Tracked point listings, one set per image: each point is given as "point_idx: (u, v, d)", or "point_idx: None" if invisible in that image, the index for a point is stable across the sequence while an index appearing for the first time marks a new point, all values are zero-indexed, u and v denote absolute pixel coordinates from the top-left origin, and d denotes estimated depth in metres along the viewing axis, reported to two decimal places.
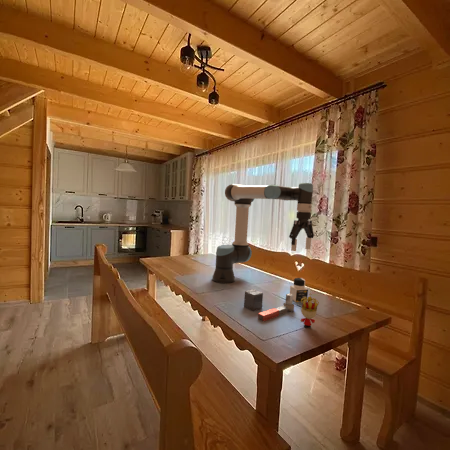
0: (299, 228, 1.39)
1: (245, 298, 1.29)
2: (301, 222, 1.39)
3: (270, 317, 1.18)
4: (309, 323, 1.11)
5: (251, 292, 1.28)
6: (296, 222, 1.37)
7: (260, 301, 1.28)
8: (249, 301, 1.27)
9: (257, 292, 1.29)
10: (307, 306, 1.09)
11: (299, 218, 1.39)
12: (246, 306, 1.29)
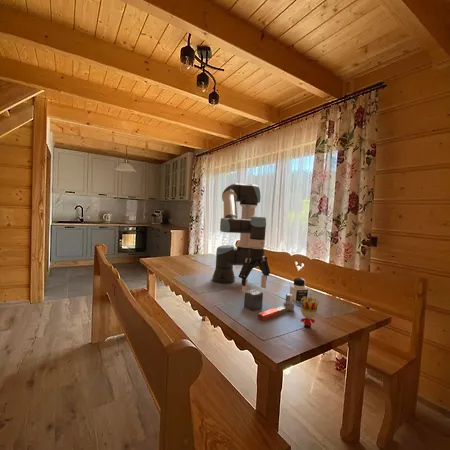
0: (250, 267, 1.25)
1: (245, 298, 1.29)
2: (253, 260, 1.25)
3: (270, 317, 1.18)
4: (309, 323, 1.11)
5: (251, 292, 1.28)
6: (246, 260, 1.23)
7: (260, 301, 1.28)
8: (249, 301, 1.27)
9: (257, 292, 1.29)
10: (307, 306, 1.09)
11: (251, 255, 1.25)
12: (246, 306, 1.29)
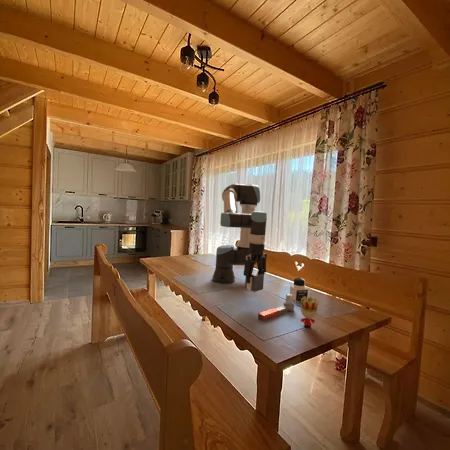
0: (252, 263, 1.26)
1: None
2: (253, 255, 1.25)
3: (270, 317, 1.18)
4: (309, 323, 1.11)
5: (252, 273, 1.28)
6: (247, 258, 1.23)
7: (261, 282, 1.28)
8: None
9: (258, 273, 1.28)
10: (307, 306, 1.09)
11: (250, 251, 1.25)
12: None
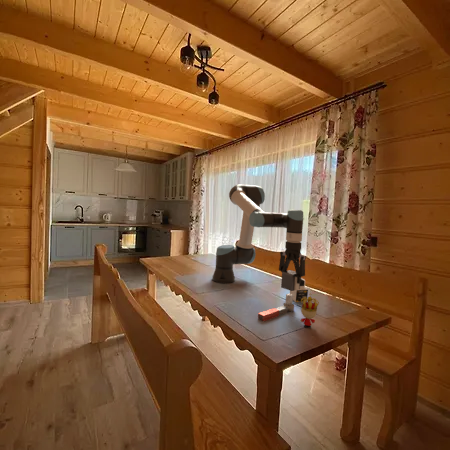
0: None
1: None
2: (286, 252, 1.28)
3: (270, 317, 1.18)
4: (309, 323, 1.11)
5: (289, 271, 1.29)
6: None
7: (290, 282, 1.24)
8: None
9: (291, 273, 1.26)
10: (307, 306, 1.09)
11: None
12: None
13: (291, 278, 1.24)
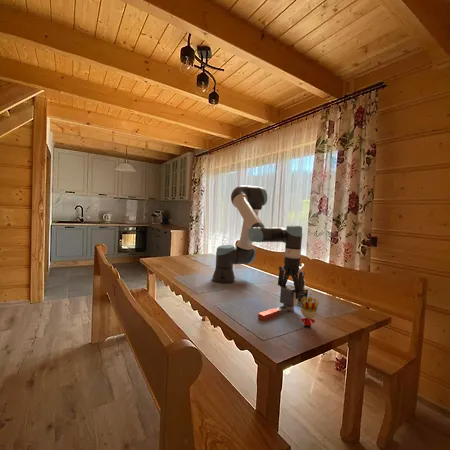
0: None
1: None
2: (285, 267, 1.29)
3: (270, 317, 1.18)
4: (309, 323, 1.11)
5: (287, 286, 1.29)
6: None
7: (288, 297, 1.25)
8: None
9: (290, 288, 1.26)
10: (307, 306, 1.09)
11: None
12: None
13: (290, 294, 1.24)
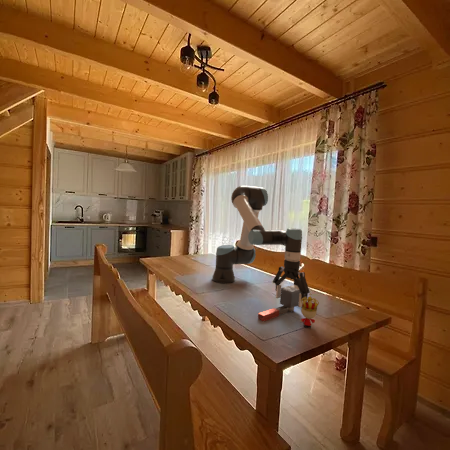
0: None
1: None
2: (284, 270, 1.29)
3: (270, 317, 1.18)
4: (309, 323, 1.11)
5: (288, 287, 1.29)
6: None
7: (289, 299, 1.25)
8: None
9: (290, 290, 1.26)
10: (307, 306, 1.09)
11: None
12: None
13: (290, 295, 1.24)
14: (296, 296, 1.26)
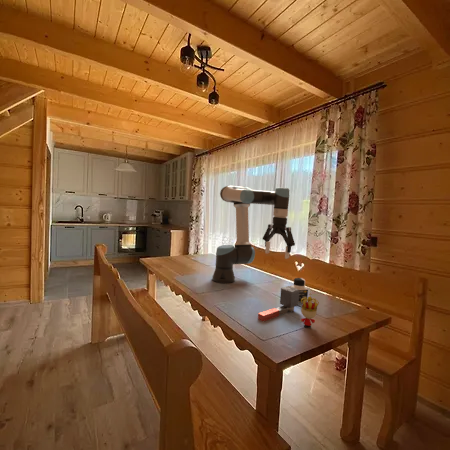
0: (271, 232, 1.42)
1: None
2: (273, 226, 1.41)
3: (270, 317, 1.18)
4: (309, 323, 1.11)
5: (287, 287, 1.29)
6: None
7: (289, 299, 1.25)
8: None
9: (290, 290, 1.26)
10: (307, 306, 1.09)
11: None
12: None
13: (290, 295, 1.24)
14: (296, 296, 1.26)
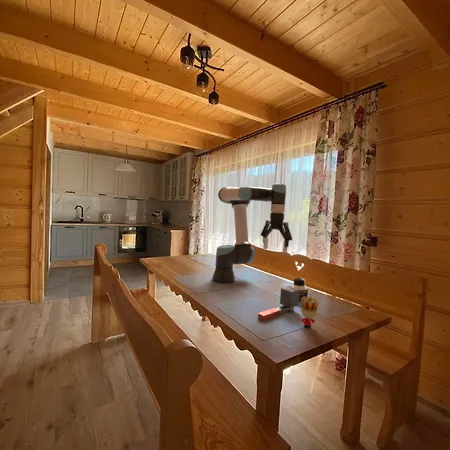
0: (269, 228, 1.45)
1: None
2: (271, 222, 1.43)
3: (270, 317, 1.18)
4: (309, 323, 1.11)
5: (287, 287, 1.29)
6: None
7: (288, 299, 1.25)
8: None
9: (290, 290, 1.26)
10: (307, 306, 1.09)
11: None
12: None
13: (290, 295, 1.24)
14: (296, 296, 1.26)
